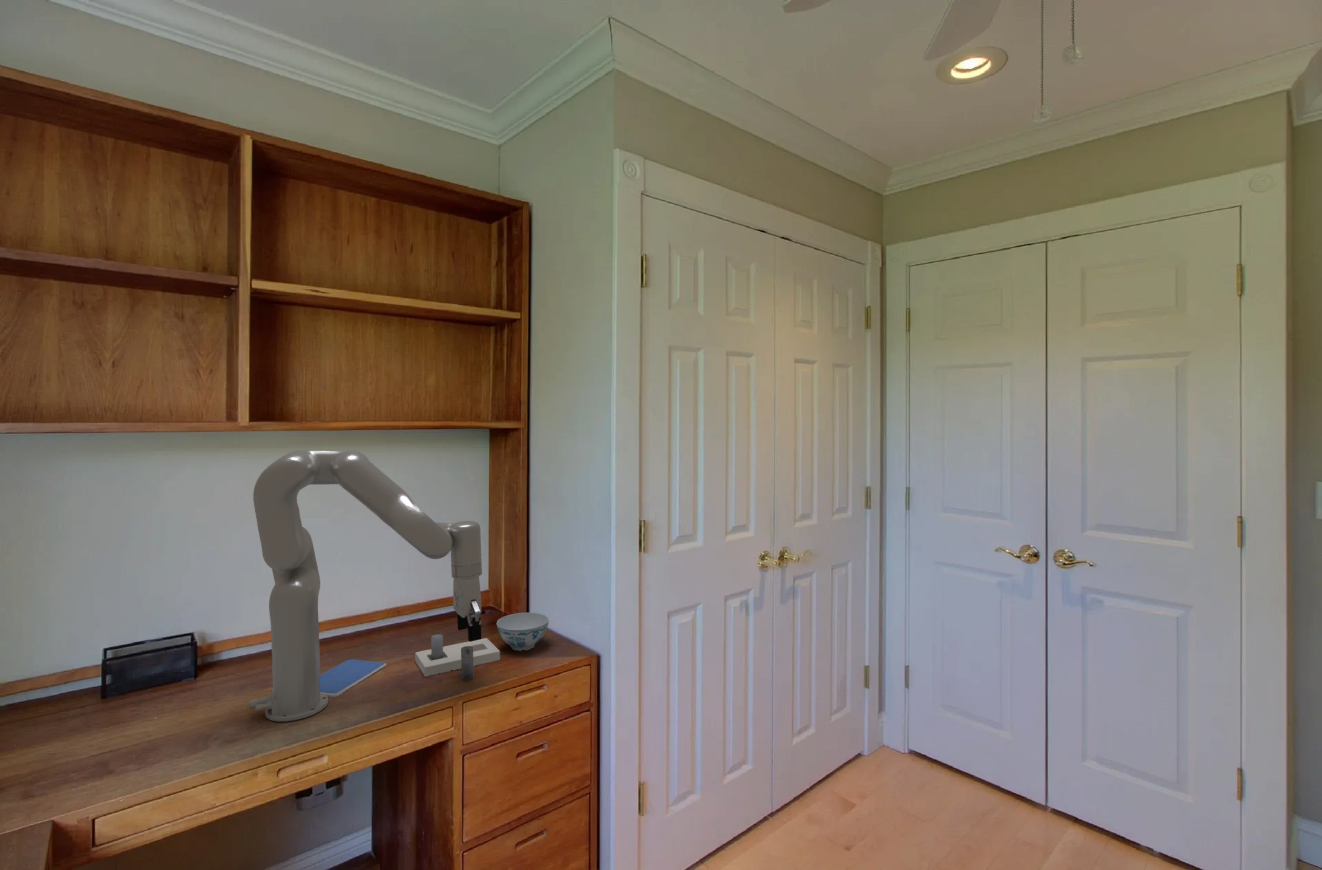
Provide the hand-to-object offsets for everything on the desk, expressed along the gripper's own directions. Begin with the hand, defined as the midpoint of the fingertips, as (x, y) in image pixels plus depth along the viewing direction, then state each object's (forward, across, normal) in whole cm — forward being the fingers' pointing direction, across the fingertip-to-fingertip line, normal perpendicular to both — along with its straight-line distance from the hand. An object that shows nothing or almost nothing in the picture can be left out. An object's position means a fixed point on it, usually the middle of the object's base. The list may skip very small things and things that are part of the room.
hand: (469, 634), depth 161 cm
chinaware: (+12, -13, +19) cm, 26 cm away
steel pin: (+12, 0, -1) cm, 12 cm away
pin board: (+12, -13, 0) cm, 17 cm away
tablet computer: (+12, -18, -28) cm, 35 cm away
